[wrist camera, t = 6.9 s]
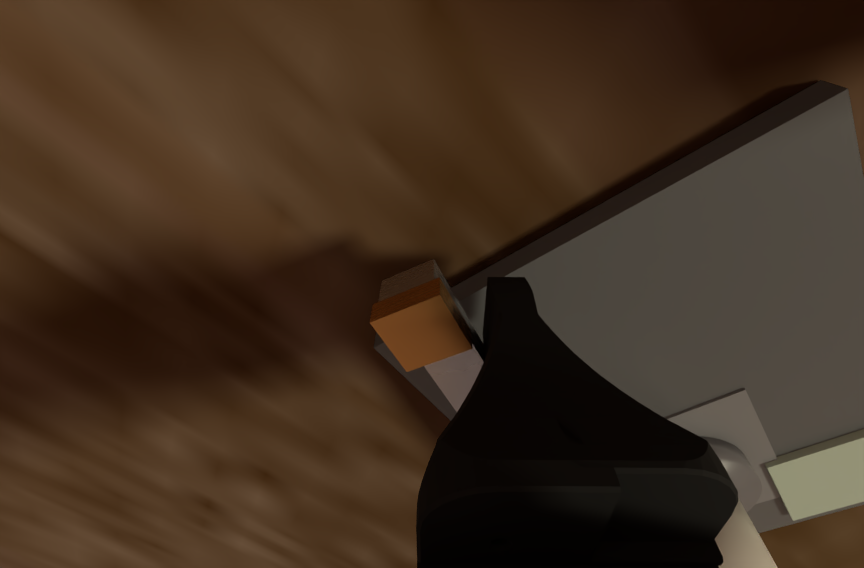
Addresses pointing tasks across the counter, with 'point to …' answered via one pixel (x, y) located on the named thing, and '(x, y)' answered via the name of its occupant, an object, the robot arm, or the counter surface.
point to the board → (718, 288)
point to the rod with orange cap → (429, 329)
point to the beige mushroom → (740, 512)
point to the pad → (821, 476)
